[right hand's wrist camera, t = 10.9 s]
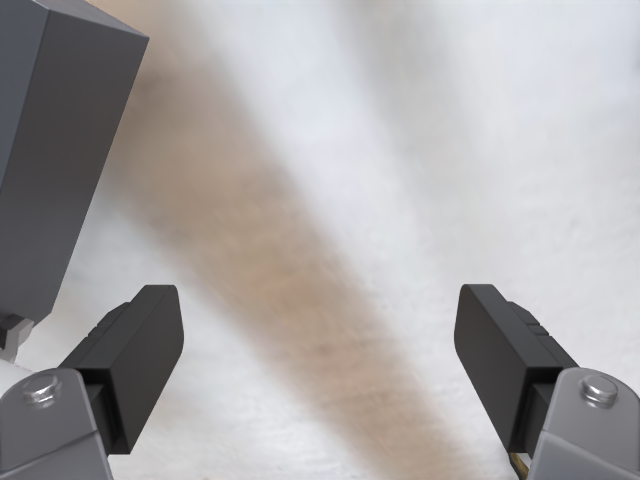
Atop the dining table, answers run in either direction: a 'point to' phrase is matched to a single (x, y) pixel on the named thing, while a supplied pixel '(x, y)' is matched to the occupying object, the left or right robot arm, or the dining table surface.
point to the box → (54, 136)
